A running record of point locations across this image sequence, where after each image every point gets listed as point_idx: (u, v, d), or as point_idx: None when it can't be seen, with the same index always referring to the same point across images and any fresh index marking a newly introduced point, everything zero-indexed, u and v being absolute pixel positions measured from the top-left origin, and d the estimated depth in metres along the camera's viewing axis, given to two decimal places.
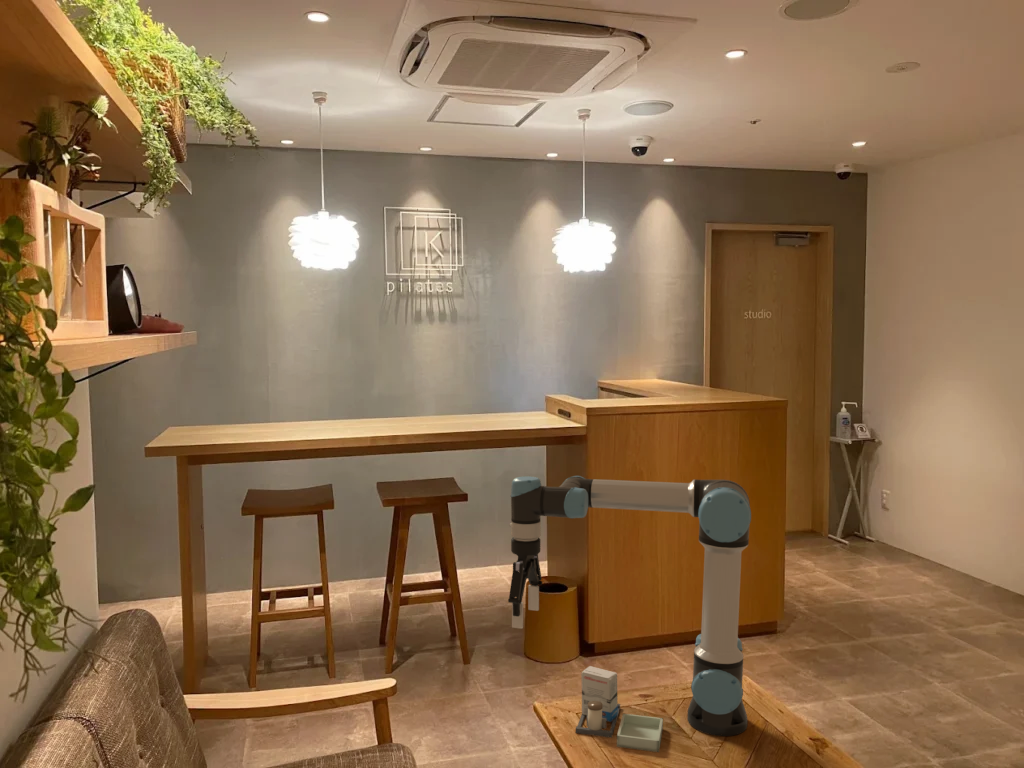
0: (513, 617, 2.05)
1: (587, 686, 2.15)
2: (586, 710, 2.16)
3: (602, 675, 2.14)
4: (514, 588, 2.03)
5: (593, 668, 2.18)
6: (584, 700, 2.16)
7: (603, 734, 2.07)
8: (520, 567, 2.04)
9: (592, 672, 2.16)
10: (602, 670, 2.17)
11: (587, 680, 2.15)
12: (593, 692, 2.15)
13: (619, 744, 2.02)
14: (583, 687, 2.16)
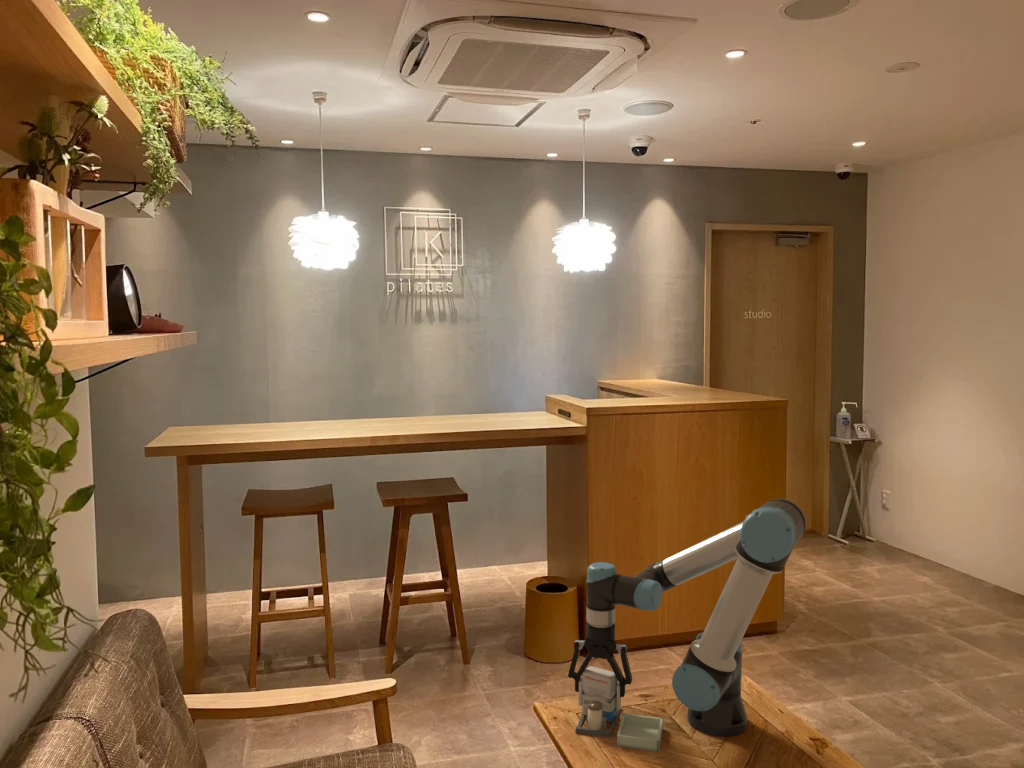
0: None
1: (587, 685, 2.16)
2: (587, 710, 2.16)
3: (602, 675, 2.14)
4: None
5: (593, 668, 2.18)
6: (584, 700, 2.16)
7: (603, 734, 2.07)
8: None
9: (592, 672, 2.16)
10: (603, 670, 2.17)
11: (587, 680, 2.15)
12: (593, 692, 2.15)
13: (619, 744, 2.02)
14: (583, 687, 2.16)
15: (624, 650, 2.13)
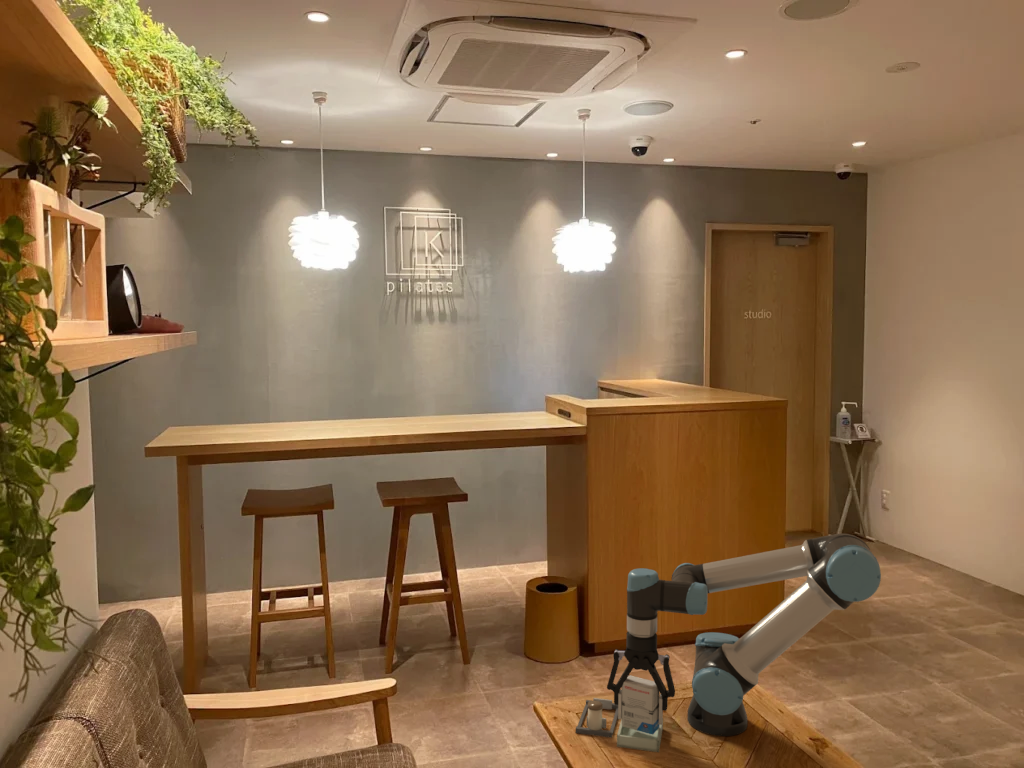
0: None
1: (627, 696, 2.05)
2: (627, 722, 2.05)
3: (644, 685, 2.03)
4: None
5: (633, 677, 2.08)
6: (624, 711, 2.05)
7: (603, 734, 2.07)
8: None
9: (633, 681, 2.05)
10: (643, 680, 2.06)
11: (628, 690, 2.05)
12: (634, 703, 2.04)
13: (619, 744, 2.02)
14: (623, 697, 2.05)
15: (667, 661, 2.02)
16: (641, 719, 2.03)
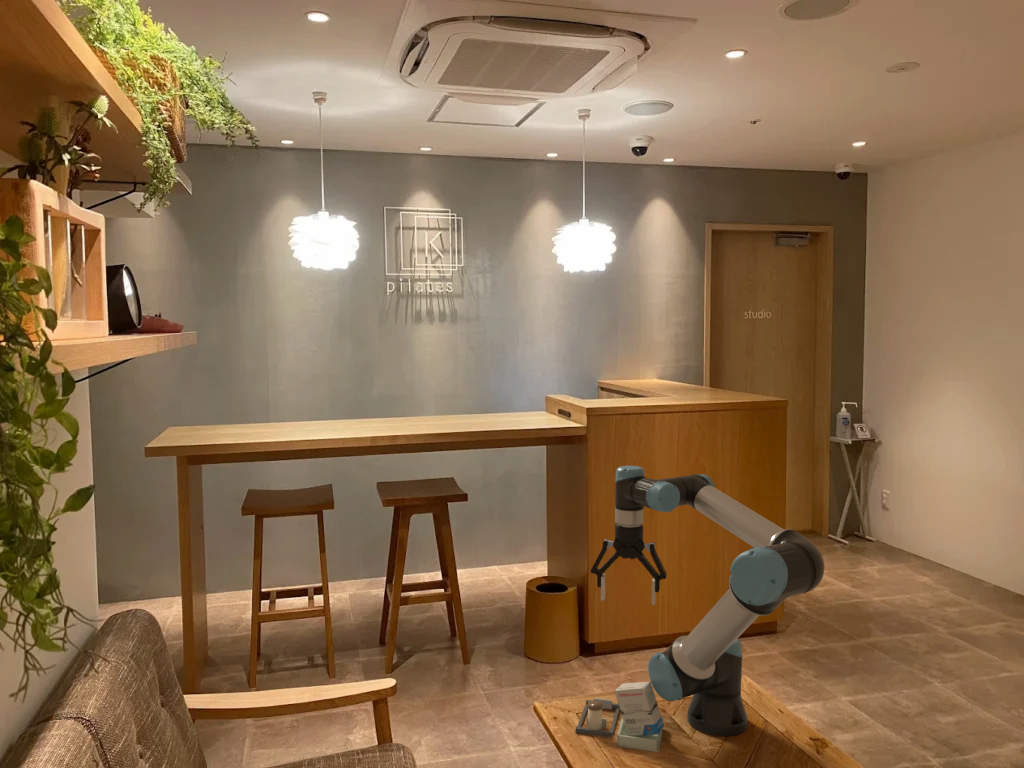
0: None
1: (624, 704, 2.05)
2: (631, 730, 2.05)
3: (635, 687, 2.04)
4: None
5: (626, 684, 2.08)
6: (626, 720, 2.05)
7: (603, 734, 2.07)
8: None
9: (625, 688, 2.06)
10: (635, 683, 2.07)
11: (622, 698, 2.05)
12: (631, 708, 2.04)
13: (619, 744, 2.02)
14: (621, 706, 2.06)
15: (652, 547, 2.18)
16: (643, 723, 2.03)
